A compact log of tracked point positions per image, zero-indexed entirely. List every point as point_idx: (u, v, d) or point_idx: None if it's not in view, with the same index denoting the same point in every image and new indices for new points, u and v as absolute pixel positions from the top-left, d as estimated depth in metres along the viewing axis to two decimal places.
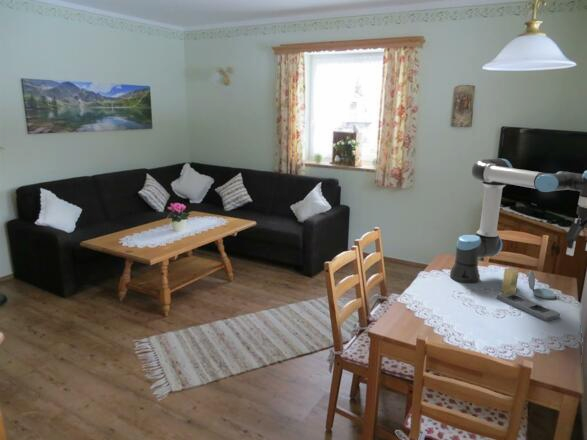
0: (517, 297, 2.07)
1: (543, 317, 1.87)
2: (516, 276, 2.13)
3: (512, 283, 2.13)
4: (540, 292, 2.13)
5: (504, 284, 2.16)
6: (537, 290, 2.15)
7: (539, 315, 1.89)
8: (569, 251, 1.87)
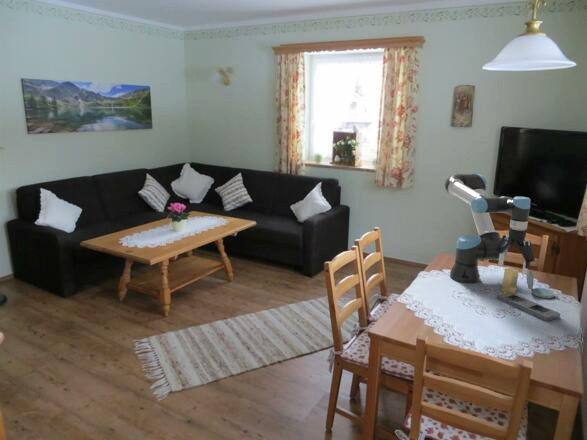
0: (517, 297, 2.07)
1: (543, 317, 1.87)
2: (516, 276, 2.13)
3: (512, 283, 2.13)
4: (539, 292, 2.13)
5: (504, 284, 2.16)
6: (536, 290, 2.16)
7: (539, 315, 1.89)
8: None
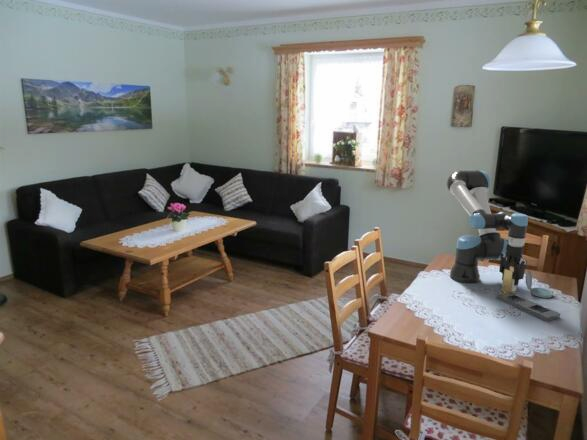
0: (517, 297, 2.07)
1: (543, 317, 1.87)
2: None
3: None
4: (537, 291, 2.14)
5: (504, 284, 2.16)
6: (534, 289, 2.16)
7: (539, 315, 1.89)
8: None
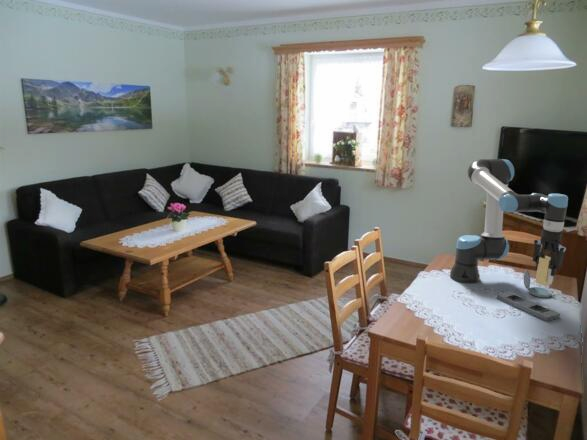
0: (517, 297, 2.07)
1: (543, 317, 1.87)
2: None
3: None
4: (535, 291, 2.14)
5: (539, 274, 1.90)
6: (532, 289, 2.17)
7: (539, 315, 1.89)
8: None
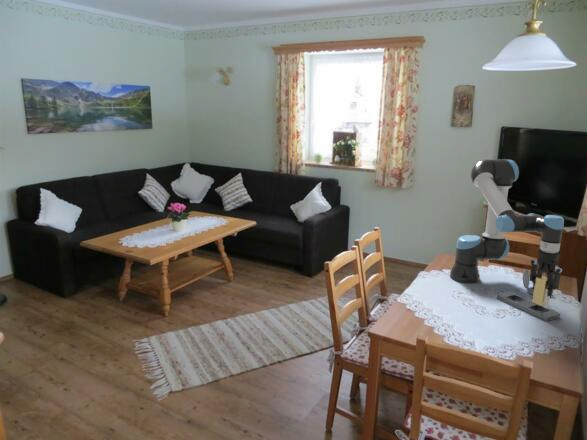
0: (517, 297, 2.07)
1: (543, 317, 1.87)
2: None
3: None
4: None
5: (535, 294, 1.92)
6: (531, 289, 2.17)
7: (539, 315, 1.89)
8: None
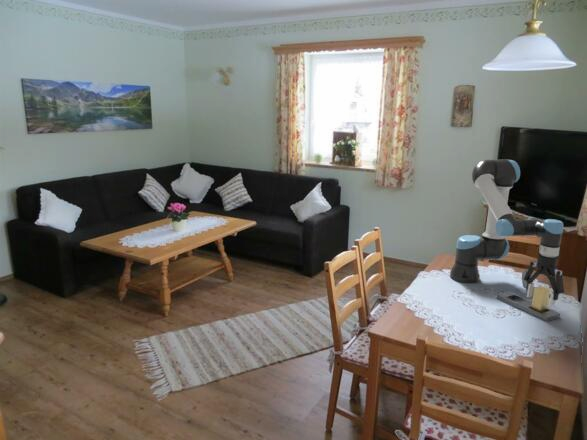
0: (517, 297, 2.07)
1: (543, 317, 1.87)
2: (547, 296, 1.91)
3: (543, 304, 1.90)
4: (533, 290, 2.15)
5: (534, 304, 1.93)
6: None
7: (539, 315, 1.89)
8: None
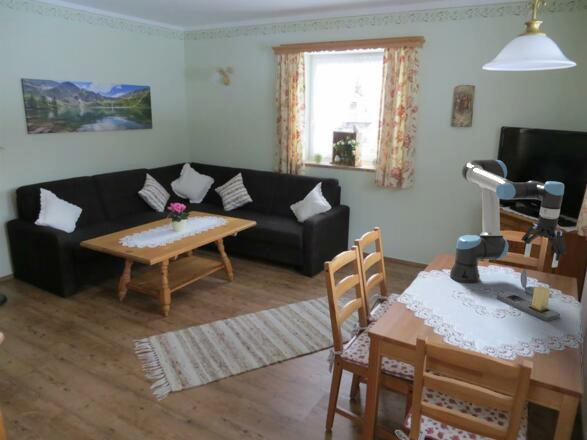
0: (517, 297, 2.07)
1: (543, 317, 1.87)
2: (547, 296, 1.91)
3: (543, 304, 1.90)
4: (532, 290, 2.15)
5: (534, 304, 1.93)
6: (529, 288, 2.18)
7: (539, 315, 1.89)
8: None
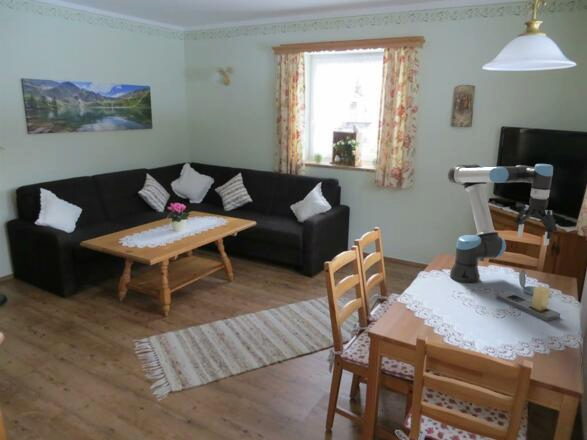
0: (517, 297, 2.07)
1: (543, 317, 1.87)
2: (547, 296, 1.91)
3: (543, 304, 1.90)
4: (531, 290, 2.16)
5: (534, 304, 1.93)
6: (528, 288, 2.18)
7: (539, 315, 1.89)
8: None
